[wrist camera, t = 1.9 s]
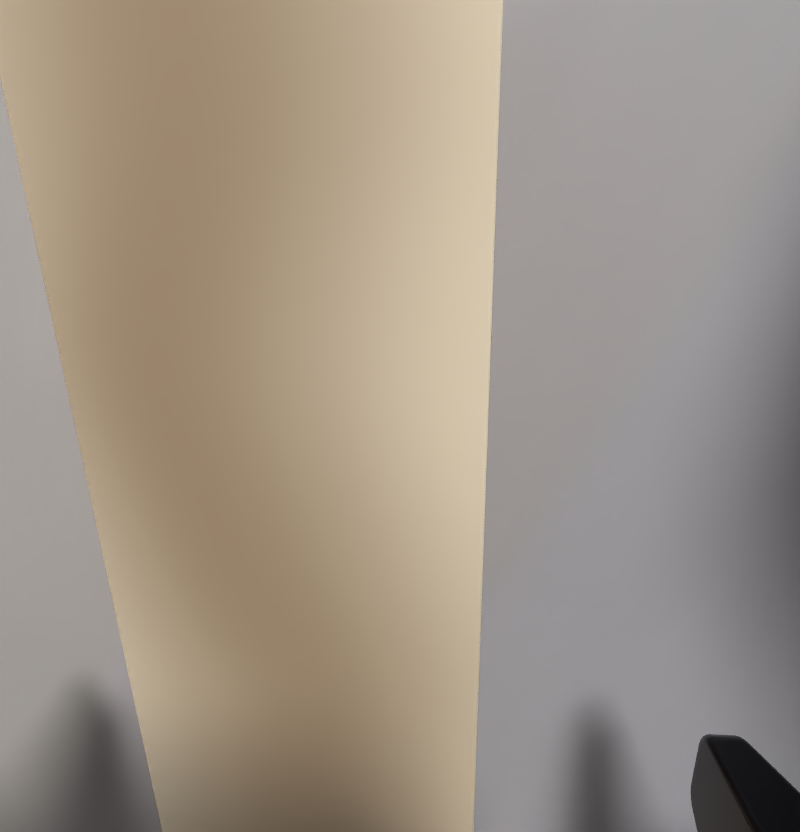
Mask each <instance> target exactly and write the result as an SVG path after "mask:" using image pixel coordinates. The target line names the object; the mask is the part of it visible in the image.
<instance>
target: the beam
mask: <svg viewBox="0 0 800 832" xmlns="http://www.w3.org/2000/svg"><path fill="white" fill-rule="evenodd" d="M502 12H503V0H0V79H1V84H2V88H3V93H4V98H5V102H6V107H7V112H8V116H9V121H10V126H11V130H12V135H13V140H14V144H15V149H16V153H17V158H18V163H19V167H20V172H21V177H22V181H23V186H24V191H25V195H26V200H27V205H28V209H29V214H30V219H31V223H32V228H33V233H34V237H35V242H36V247H37V251H38V256H39V261H40V265H41V270H42V275H43V279H44V284H45V288H46V293H47V298H48V302H49V307H50V312H51V316H52V321H53V326H54V330H55V335H56V340H57V344H58V349H59V354H60V358H61V363H62V368H63V372H64V377H65V382H66V386H67V391H68V396H69V400H70V405H71V410H72V414H73V419H74V423H75V428H76V433H77V437H78V442H79V447H80V451H81V456H82V461H83V465H84V470H85V475H86V479H87V484H88V489H89V493H90V498H91V503H92V507H93V512H94V517H95V521H96V526H97V531H98V535H99V540H100V545H101V549H102V554H103V558H104V563H105V568H106V572H107V577H108V582H109V586H110V591H111V596H112V600H113V605H114V610H115V614H116V619H117V624H118V628H119V633H120V638H121V642H122V647H123V652H124V656H125V661H126V666H127V670H128V675H129V680H130V684H131V689H132V693H133V698H134V703H135V707H136V712H137V717H138V721H139V726H140V731H141V735H142V740H143V745H144V749H145V754H146V759H147V763H148V768H149V773H150V777H151V782H152V787H153V791H154V796H155V801H156V805H157V810H158V814H159V819H160V824H161V828H162V832H473V825H474V797H475V769H476V741H477V713H478V685H479V657H480V629H481V601H482V573H483V545H484V517H485V489H486V461H487V432H488V404H489V376H490V348H491V320H492V292H493V264H494V236H495V208H496V180H497V152H498V124H499V96H500V68H501V40H502Z"/></svg>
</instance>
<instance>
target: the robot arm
mask: <svg viewBox="0 0 800 832" xmlns="http://www.w3.org/2000/svg"><path fill="white" fill-rule="evenodd" d="M691 802H692V808H693V813H694V817H695V822H696V827H697V831H698V832H800V793H799V792H798V791H797V790H796V789H795V788H794V787H793V786H792V785H791V784H790V783H789V782H788V781H787V780H786V779H785V778H784V777H783V776H782V775H781V774H780V773H779V772H778V771H777V770H776V769H775V768H774V767H773V766H771V765H770V764H769V763H768V762H767V761H766V760H765V759H764V758H763V757H762V756H761V755H760V754H759V753H758V752H757V751H756V750H755V749H754V748H753V747H752V746H751V745H750V744H749V743H748V742H747V741H745V740H744V739H742V738H741V737H738V736H733V735H712V734H708V735H705V736H703V737H702V739H701V740H700V743H699V747H698V752H697V757H696V762H695V768H694V773H693V778H692V783H691Z"/></svg>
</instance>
